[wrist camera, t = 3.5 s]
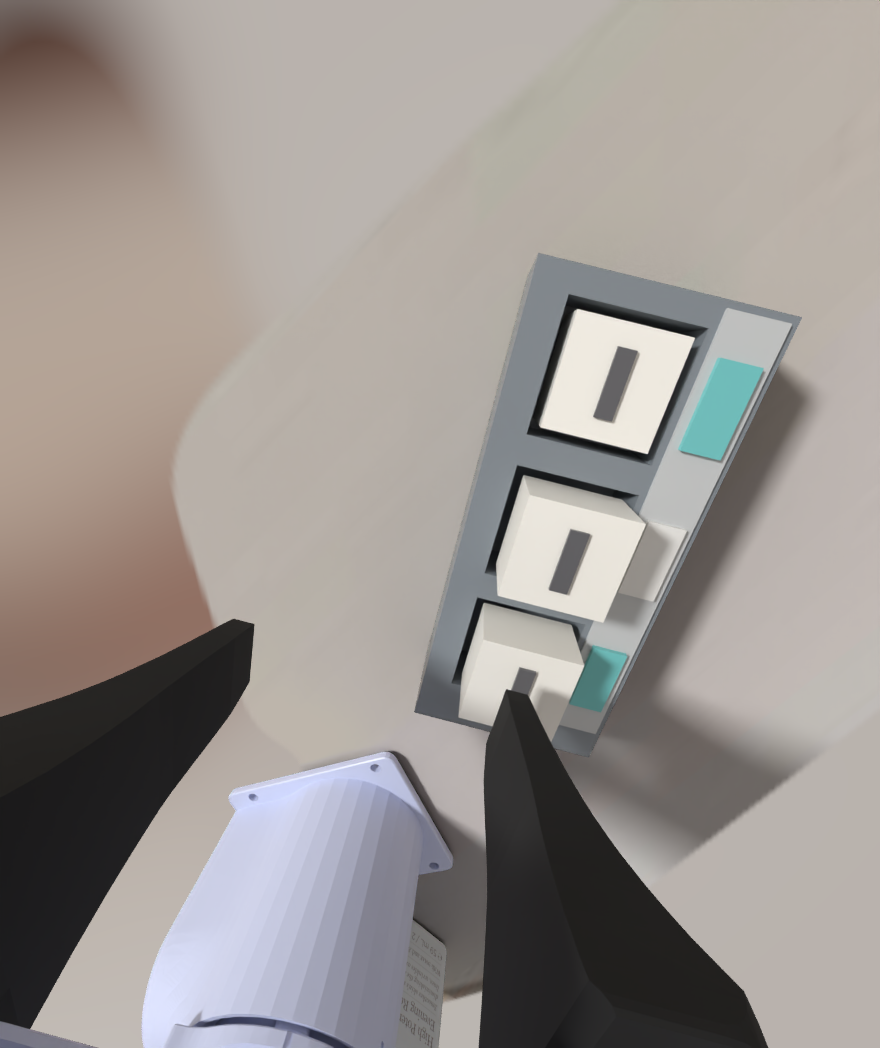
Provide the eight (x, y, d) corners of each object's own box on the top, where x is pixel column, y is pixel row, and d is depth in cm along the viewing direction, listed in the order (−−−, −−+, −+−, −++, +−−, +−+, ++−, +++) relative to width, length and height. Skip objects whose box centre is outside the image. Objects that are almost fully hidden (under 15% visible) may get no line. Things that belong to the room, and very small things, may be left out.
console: (573, 698, 19) (590, 763, 16) (424, 660, 19) (413, 717, 16) (736, 326, 14) (809, 316, 10) (527, 275, 14) (539, 250, 11)
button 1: (543, 694, 16) (552, 744, 14) (461, 672, 16) (458, 720, 14) (571, 625, 15) (585, 668, 13) (483, 602, 15) (483, 641, 13)
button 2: (624, 441, 14) (648, 454, 12) (533, 418, 14) (541, 428, 12) (663, 341, 13) (697, 337, 11) (564, 316, 13) (578, 308, 11)
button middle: (587, 586, 14) (604, 624, 12) (496, 563, 14) (497, 597, 12) (621, 499, 13) (647, 525, 11) (523, 474, 13) (530, 495, 11)
